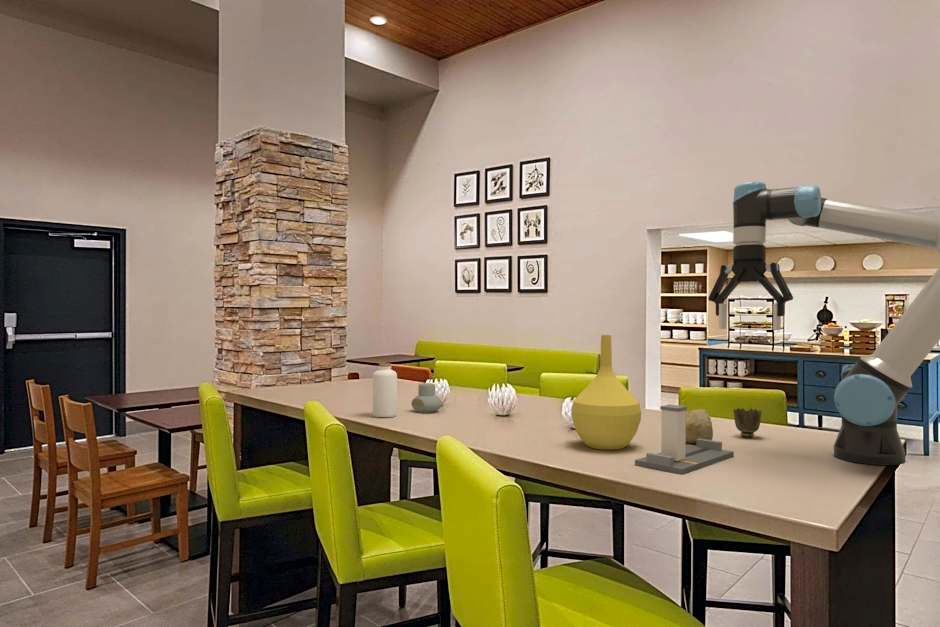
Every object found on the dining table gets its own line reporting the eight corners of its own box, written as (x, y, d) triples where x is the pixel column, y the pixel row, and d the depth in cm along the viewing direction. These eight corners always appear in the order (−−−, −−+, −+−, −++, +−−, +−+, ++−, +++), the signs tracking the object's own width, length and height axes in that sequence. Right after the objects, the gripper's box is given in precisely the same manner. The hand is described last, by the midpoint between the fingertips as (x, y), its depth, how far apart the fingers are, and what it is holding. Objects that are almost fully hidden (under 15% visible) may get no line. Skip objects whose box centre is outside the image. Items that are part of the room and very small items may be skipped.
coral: (727, 421, 174) (693, 405, 174) (710, 454, 175) (677, 439, 174) (714, 412, 183) (682, 398, 183) (699, 444, 184) (667, 430, 184)
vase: (557, 446, 173) (558, 335, 173) (594, 436, 187) (595, 333, 187) (618, 457, 161) (619, 337, 161) (653, 446, 174) (653, 335, 174)
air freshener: (408, 411, 233) (408, 383, 233) (426, 409, 239) (426, 381, 239) (427, 414, 225) (427, 386, 225) (445, 412, 231) (445, 384, 231)
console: (688, 448, 170) (688, 436, 170) (733, 456, 162) (733, 443, 162) (634, 465, 152) (634, 451, 152) (682, 474, 144) (682, 460, 144)
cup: (733, 438, 184) (733, 410, 184) (733, 434, 191) (733, 407, 191) (762, 440, 182) (762, 412, 181) (760, 436, 188) (761, 408, 188)
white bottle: (395, 418, 217) (395, 364, 217) (370, 418, 218) (370, 364, 217) (398, 414, 226) (398, 362, 226) (374, 414, 226) (374, 362, 226)
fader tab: (669, 455, 156) (669, 404, 156) (686, 458, 153) (686, 406, 153) (660, 458, 153) (660, 406, 153) (677, 461, 150) (677, 408, 150)
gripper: (807, 242, 157) (807, 330, 157) (708, 249, 175) (708, 328, 175) (796, 240, 151) (795, 330, 151) (695, 247, 169) (695, 328, 169)
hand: (748, 329), depth 163 cm, fingers open, 13 cm apart
